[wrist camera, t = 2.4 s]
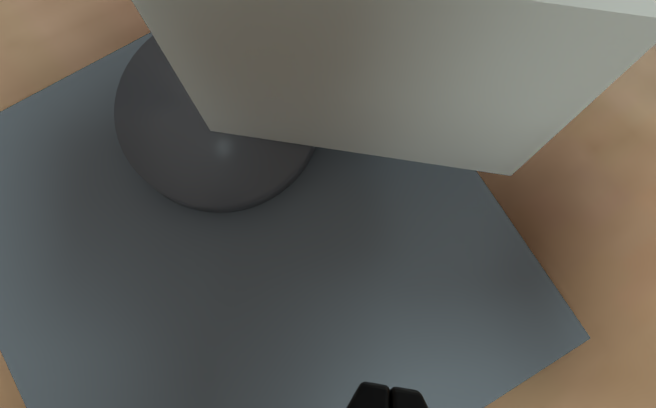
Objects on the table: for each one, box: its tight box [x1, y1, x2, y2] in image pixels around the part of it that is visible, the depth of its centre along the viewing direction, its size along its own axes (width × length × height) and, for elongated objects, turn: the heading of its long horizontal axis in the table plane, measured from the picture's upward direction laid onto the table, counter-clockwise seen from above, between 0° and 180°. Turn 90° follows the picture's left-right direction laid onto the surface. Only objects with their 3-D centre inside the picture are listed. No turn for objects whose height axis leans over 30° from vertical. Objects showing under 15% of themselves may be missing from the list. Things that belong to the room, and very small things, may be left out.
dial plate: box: [0, 33, 590, 408], centre depth 20 cm, size 18×17×1 cm
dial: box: [114, 0, 656, 213], centre depth 15 cm, size 14×7×11 cm, turn 81°
